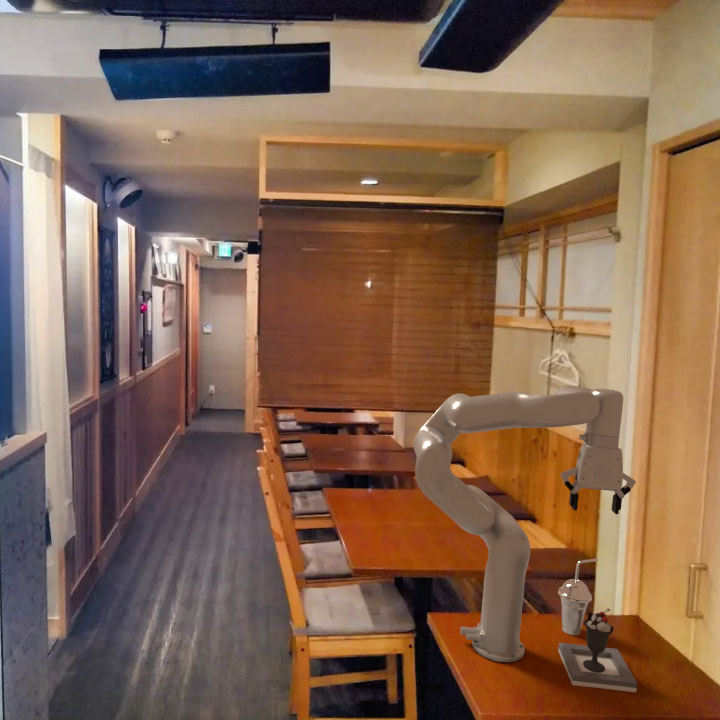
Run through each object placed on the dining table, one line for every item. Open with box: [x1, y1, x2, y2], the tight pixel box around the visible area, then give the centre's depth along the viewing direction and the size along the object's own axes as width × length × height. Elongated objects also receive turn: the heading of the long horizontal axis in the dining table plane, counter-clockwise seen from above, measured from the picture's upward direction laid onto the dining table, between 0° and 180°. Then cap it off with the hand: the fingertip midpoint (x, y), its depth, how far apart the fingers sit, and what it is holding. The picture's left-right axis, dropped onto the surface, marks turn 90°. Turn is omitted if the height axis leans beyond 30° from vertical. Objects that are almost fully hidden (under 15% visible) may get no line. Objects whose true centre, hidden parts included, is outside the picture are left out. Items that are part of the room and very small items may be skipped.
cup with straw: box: [557, 558, 599, 636], centre depth 166 cm, size 8×9×20 cm
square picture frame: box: [557, 642, 638, 693], centre depth 149 cm, size 14×14×2 cm
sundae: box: [583, 608, 615, 673], centre depth 148 cm, size 7×7×15 cm
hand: (594, 510), depth 153 cm, fingers open, 9 cm apart
